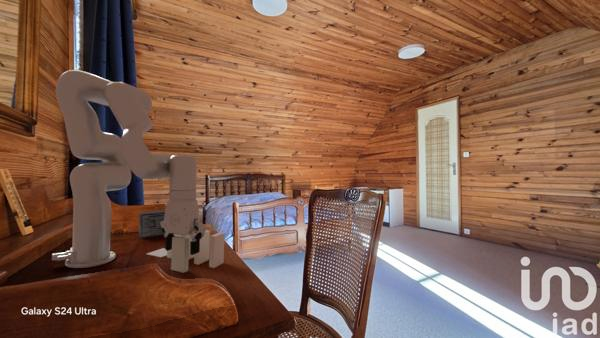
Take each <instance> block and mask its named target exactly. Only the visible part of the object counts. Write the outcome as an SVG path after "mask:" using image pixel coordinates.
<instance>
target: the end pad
mask: <svg viewBox="0 0 600 338" xmlns="http://www.w3.org/2000/svg"><path fill="white" fill-rule="evenodd" d="M146 255H148V256H153V257H156V258H161V259H162V258H163V257H167V251H166V247H165V248H164V247H162V248H160V249H157V250H154V251H151V252H150V251H149V252H147V253H146Z"/></svg>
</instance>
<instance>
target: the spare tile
mask: <svg viewBox="0 0 600 338" xmlns="http://www.w3.org/2000/svg"><path fill="white" fill-rule="evenodd" d="M189 260H190V259H189V238H186V237H180V236H175V237H172V258H170V261H171V262H170V263H171V264H170V270H171V271H174V272H175V271H176V272H178V273H183V274H184V273H186V272H188V271H189Z"/></svg>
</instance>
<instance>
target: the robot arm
mask: <svg viewBox="0 0 600 338" xmlns="http://www.w3.org/2000/svg"><path fill="white" fill-rule="evenodd" d="M55 96H56V101H57V104H58V106H59V109H60V111H61V112H62V116H63V120H64V124H65V125H64V126H65V130H66V136H67V140H68V145H69V148H70V151H71V152H70V153H71V154H72V155H73V156H74V157H75V158H78V159H81V160H93V161H94V160H97V161H101V162H85V163H82V164H78V165H77V166H75V167H73V169H72V170H71V172H70V175H69V183H70V184H69V185H70V187H71V192H72V202H73V203H72V204H73V210H72V211H73V212H72V214H73V215H72V247H70V250H66V251H65V252H55V253H52V254H51V261H57V262H59V261H65V262H64V264H65V266H66V267H67V268H72V269H84V268H92V267H98V266H101V265H102V266H103V265H105V264H108V263H110V262H112V261H113V260H115V259H116V253H115V252H114V251H112V250H111V232H112V230H111V229H112V228H111V227H112V224H111V223H112V203H111V199H110V198H109V195H108V194H107V192H111V191H120V190H123V189H125V188H127V187H128V186H129V185H130V183H131V181H132V173H133V174H134V175H135V176H136V177H137V178H139V179H142V180H157V179H158V180H159V179H160V180H161V179H169V182H168V183H169V185H168V186H169V187H168V189H169V191H168V199H167V201H166V205H165V209H164V210H165V217H164V220H163V221H161V222H160V225H161V227H162V231H163V233H164V236H163V237H164V238H165V249H166V251H168V250H171V249H172V237H175V235H174V234H179V235H188V234H189V236H190V238H191V239H192V241H191V242H190V254H191V255H194V254H196V253H198V252H199V251H200V239H202V237H203V236H204V233H205V231H206V230H208V229H207V228H208V227H207V225H206V224H204V223H203V222H202V221H200V220H201V219H200V209H199V202H198V200H197V159H196V157H195V156H193V155H191V154H190V155H186V154H179V155H178V154H175V155H170V154H169V155H168V154H161V153H151V151H150V150H149V148H148V147H147V145H146V143H145V141H144V137H143V135H144V134H146V133H148V132H149V131H150V130H151V129H152V127H153V120H152V119H151V117H150V116H149V112H150V111H151V109H152V107H153V101H152V98H151V97H150V95H149V94H148V93H147V92H146V91H145V90H143V89H140V88H138V87H135V86H133V85H131V84H129V83H126V82H123V81H111V80H109V79H105V78H103V77H100V76H98V75H96V74H93V73H90V72H87V71H82V70H76V69H69V70H66V71H65V72H63V73H62V74H61V75H60V76H59V77H58V79H57V81H56V84H55ZM89 102H91V103H96V104H99V105H103V106H106V107H109V108H110V110H111V112H112V114H113V116H114V117H115V119H116V121H117V123H118V124H119V126H120V127H121V131H122V135H121V137H120V136H118V135H117V134H114V133H110V132H104V131H103V130H102V129H101V125H100V120H99V117H98V114H97V113H96V111H95V110H94V109H93V107H92V106H91V105H90V103H89ZM194 233H195V235H196V236H194Z"/></svg>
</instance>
